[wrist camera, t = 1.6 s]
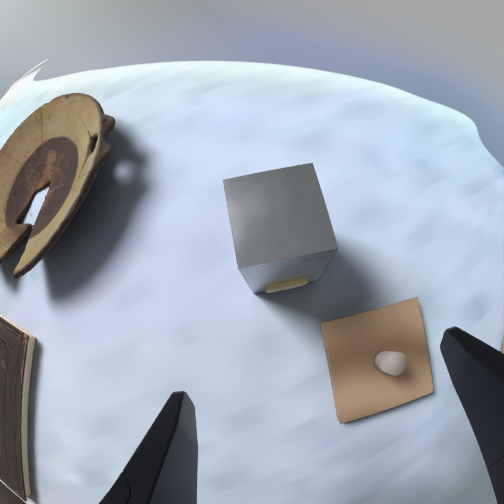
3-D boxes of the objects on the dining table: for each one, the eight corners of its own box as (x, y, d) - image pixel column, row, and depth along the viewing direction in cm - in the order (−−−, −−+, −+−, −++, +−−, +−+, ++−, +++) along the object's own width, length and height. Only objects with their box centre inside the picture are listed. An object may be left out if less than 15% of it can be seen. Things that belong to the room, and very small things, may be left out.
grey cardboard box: (317, 284, 23) (339, 254, 14) (254, 297, 23) (239, 274, 15) (301, 218, 25) (310, 158, 16) (242, 230, 25) (222, 175, 16)
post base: (427, 389, 20) (451, 397, 16) (337, 419, 20) (348, 435, 16) (411, 298, 22) (434, 291, 18) (319, 323, 22) (328, 320, 18)
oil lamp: (93, 312, 24) (36, 300, 17) (-38, 255, 28) (-73, 240, 21) (161, 110, 30) (137, 62, 22) (13, 126, 34) (-12, 101, 26)
